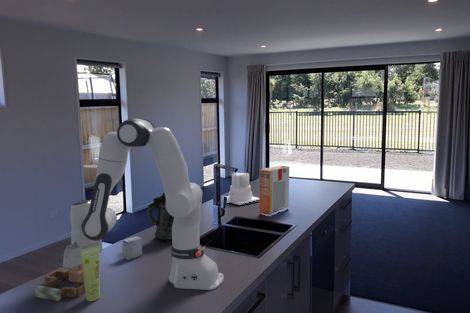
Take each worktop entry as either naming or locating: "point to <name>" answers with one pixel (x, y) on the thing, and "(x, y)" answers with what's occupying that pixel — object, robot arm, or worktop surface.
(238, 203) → the recessed light fixture
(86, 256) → the tube
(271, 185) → the pasta box
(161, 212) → the beer stein
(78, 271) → the terracotta block
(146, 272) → the worktop surface
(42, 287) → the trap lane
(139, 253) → the medicine box
